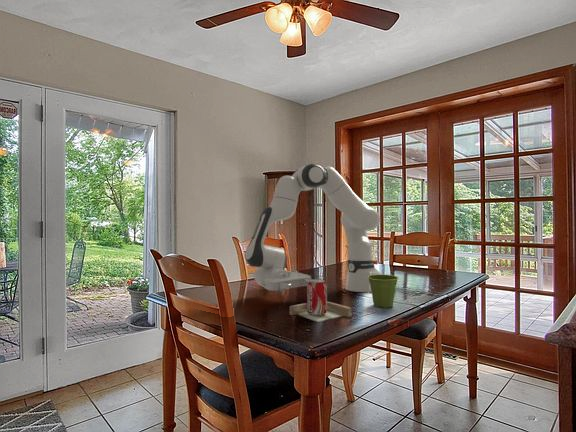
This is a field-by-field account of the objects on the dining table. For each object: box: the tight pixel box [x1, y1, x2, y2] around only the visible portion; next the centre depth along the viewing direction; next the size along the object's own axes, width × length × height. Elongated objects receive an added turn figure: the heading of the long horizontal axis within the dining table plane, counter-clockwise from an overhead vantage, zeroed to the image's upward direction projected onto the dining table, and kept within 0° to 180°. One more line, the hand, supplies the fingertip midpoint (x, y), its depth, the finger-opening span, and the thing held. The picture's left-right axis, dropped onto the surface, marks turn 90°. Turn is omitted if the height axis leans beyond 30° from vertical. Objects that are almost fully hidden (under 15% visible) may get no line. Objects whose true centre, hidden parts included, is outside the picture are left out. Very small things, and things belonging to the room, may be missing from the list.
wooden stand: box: [289, 300, 352, 323], centre depth 126 cm, size 16×16×3 cm
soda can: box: [306, 278, 328, 316], centre depth 126 cm, size 7×7×12 cm
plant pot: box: [367, 273, 399, 309], centre depth 138 cm, size 12×12×11 cm
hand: (300, 285), depth 135 cm, fingers open, 8 cm apart
